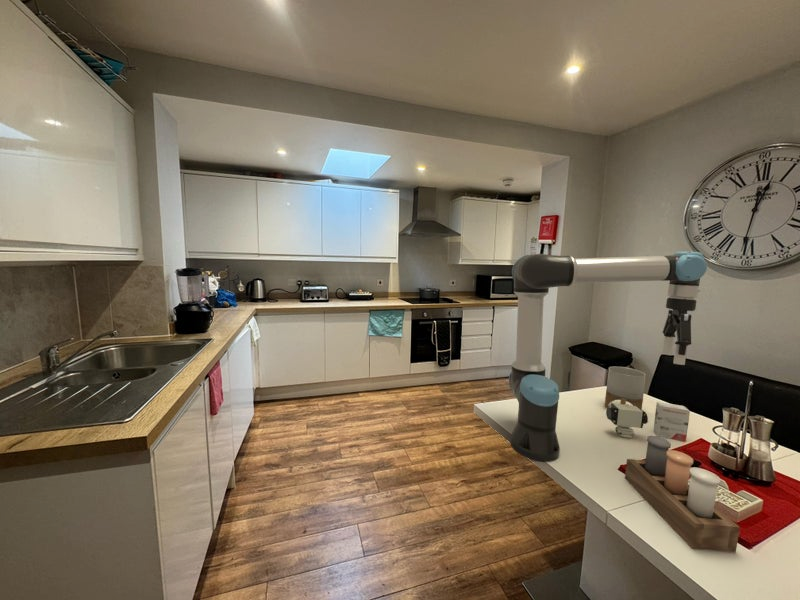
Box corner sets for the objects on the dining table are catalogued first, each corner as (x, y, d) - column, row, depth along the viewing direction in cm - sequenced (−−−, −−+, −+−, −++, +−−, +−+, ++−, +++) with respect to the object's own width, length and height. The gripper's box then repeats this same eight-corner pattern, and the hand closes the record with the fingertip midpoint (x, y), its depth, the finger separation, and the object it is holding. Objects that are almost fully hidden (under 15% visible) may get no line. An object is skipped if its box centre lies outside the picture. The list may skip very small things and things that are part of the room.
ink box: (681, 435, 117) (685, 405, 116) (686, 442, 113) (690, 410, 111) (652, 430, 121) (656, 400, 119) (656, 436, 116) (660, 405, 115)
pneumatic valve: (645, 441, 112) (649, 409, 111) (609, 436, 115) (612, 405, 113) (637, 433, 118) (641, 402, 116) (602, 429, 120) (606, 399, 119)
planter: (605, 401, 146) (609, 364, 144) (640, 410, 138) (645, 370, 136) (603, 411, 135) (608, 371, 133) (641, 421, 128) (646, 378, 126)
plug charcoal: (651, 478, 84) (655, 445, 83) (638, 466, 89) (642, 434, 88) (671, 479, 84) (675, 446, 83) (657, 467, 89) (661, 436, 88)
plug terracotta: (672, 497, 77) (677, 461, 76) (657, 483, 82) (661, 449, 81) (693, 499, 77) (699, 463, 76) (677, 484, 82) (682, 450, 81)
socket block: (691, 548, 69) (695, 523, 68) (624, 478, 92) (627, 458, 91) (735, 552, 68) (740, 527, 68) (657, 480, 91) (659, 461, 90)
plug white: (696, 520, 70) (702, 480, 69) (678, 503, 75) (684, 466, 74) (720, 522, 70) (727, 482, 69) (700, 505, 75) (706, 468, 74)
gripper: (712, 302, 94) (700, 371, 96) (683, 296, 116) (674, 352, 118) (679, 299, 97) (669, 366, 99) (657, 294, 119) (649, 349, 121)
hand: (672, 359), depth 109 cm, fingers open, 13 cm apart
